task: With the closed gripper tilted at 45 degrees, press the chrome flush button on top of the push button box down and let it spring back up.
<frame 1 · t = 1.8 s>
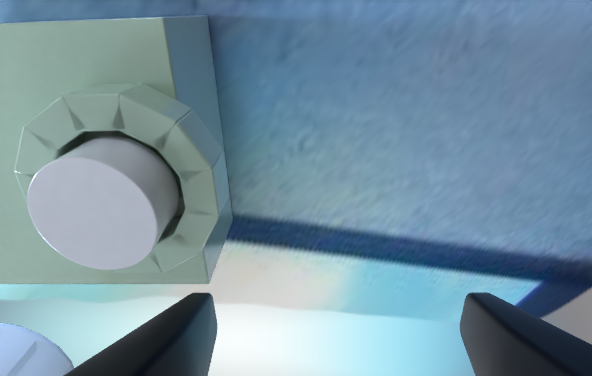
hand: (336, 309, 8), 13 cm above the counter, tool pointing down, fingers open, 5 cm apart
flush button: (109, 202, 12), point 8 cm above the counter, slide at 0.1 cm
soap bottle: (21, 360, 28), on the counter
push button box: (129, 131, 20), on the counter
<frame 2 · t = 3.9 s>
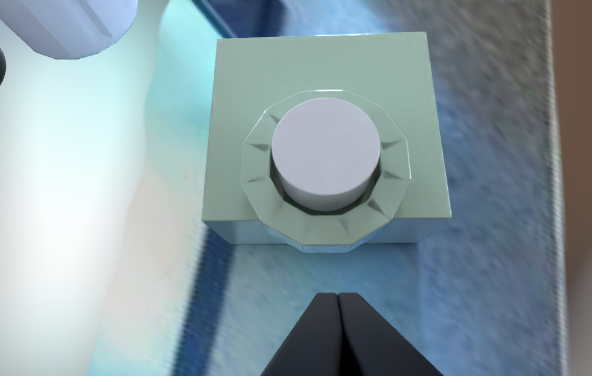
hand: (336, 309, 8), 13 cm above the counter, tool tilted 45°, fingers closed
flush button: (324, 155, 15), point 8 cm above the counter, slide at 0.1 cm
soap bottle: (83, 15, 28), on the counter
push button box: (320, 164, 23), on the counter
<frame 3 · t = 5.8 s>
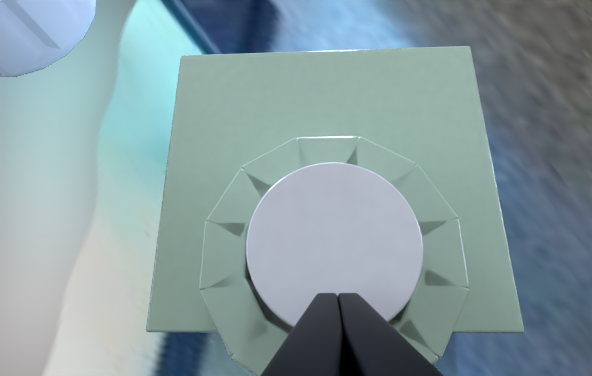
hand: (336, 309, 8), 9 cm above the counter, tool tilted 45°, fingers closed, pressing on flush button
flush button: (331, 250, 9), point 8 cm above the counter, slide at -0.1 cm, touching gripper
soap bottle: (29, 21, 23), on the counter
push button box: (323, 216, 18), on the counter
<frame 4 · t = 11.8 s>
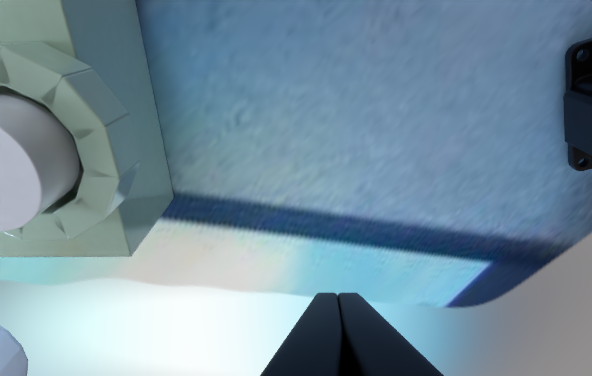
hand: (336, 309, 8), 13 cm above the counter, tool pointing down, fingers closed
push button box: (62, 105, 19), on the counter
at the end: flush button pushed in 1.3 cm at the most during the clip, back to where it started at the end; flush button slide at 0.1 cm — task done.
